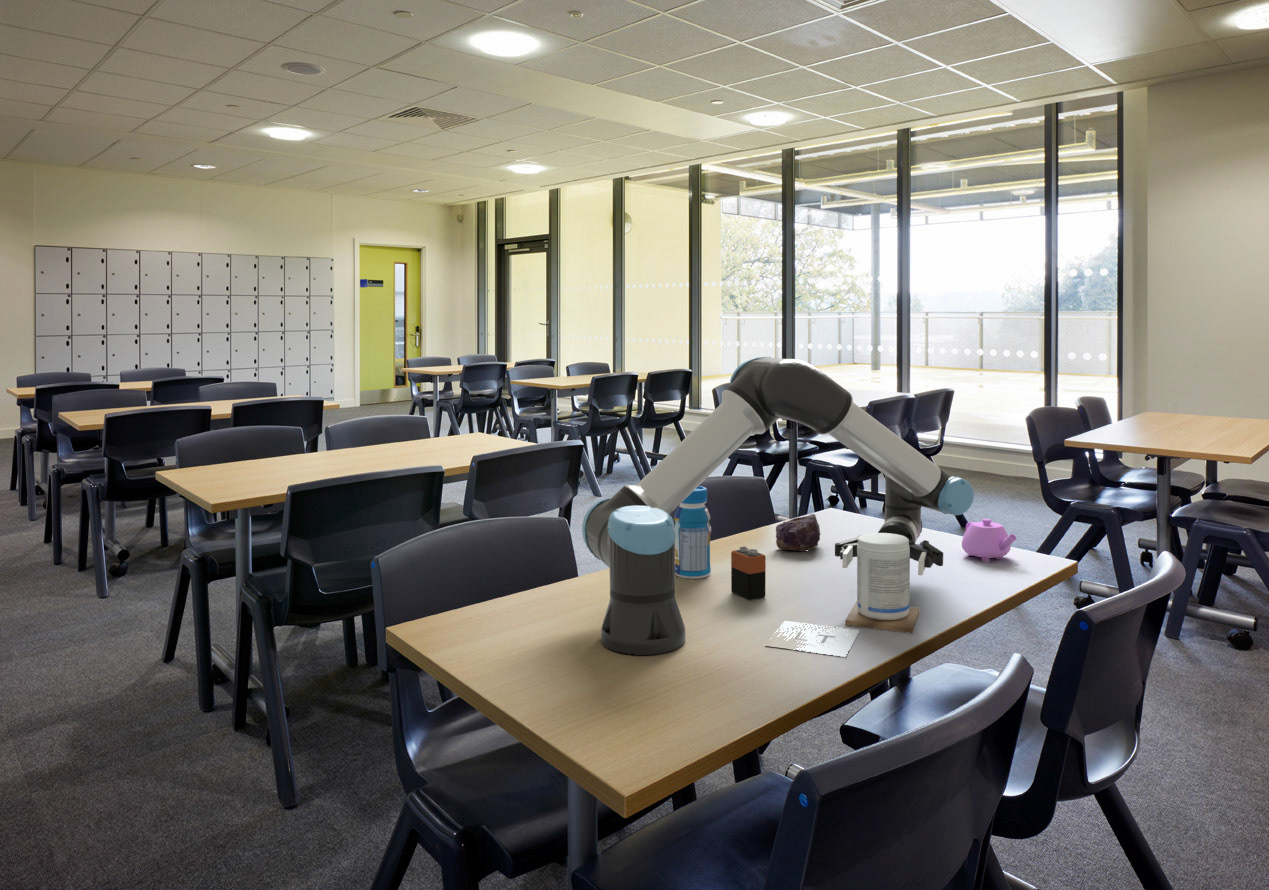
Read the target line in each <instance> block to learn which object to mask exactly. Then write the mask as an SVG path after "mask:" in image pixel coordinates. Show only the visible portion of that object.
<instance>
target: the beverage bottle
mask: <svg viewBox="0 0 1269 890" xmlns="http://www.w3.org/2000/svg"><path fill="white" fill-rule="evenodd" d="M707 489H708V488H707V487H704V486H703V485H702V486H700V485H699V486H698V487H697V488H696V489H695V490H694V491H693V492H692V493H691V494H690V495H689V496H688V497H687V498H686V499H685V500H684V501H683V502H681V503H680V504H679V505H678V506H677V508H676V510H675V512H674V516H673V521H675V522H674V530H675V534H676V537H675V576H677V577H679V578H682V579H686V580H699V579H700V580H701V579H705V578H708V577H709V576H710V575H711V573H712V572H711V570H712V568H711V567H712V566H711V533H712V526H711V524H710V521H711V514H710V511H709V510H708V508H707V507H706V505H705V504H707V501H708V490H707Z"/></svg>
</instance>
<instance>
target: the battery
mask: <svg viewBox="0 0 1269 890" xmlns="http://www.w3.org/2000/svg"><path fill="white" fill-rule="evenodd" d="M730 556H731V557H730V559H731V560H730V561H731V563H730V565H731V566H730V567H731V568H730V569H731V572H730V574H731V577H730V581H731V582H730V583H731V585H730V588H731V591H730V592H731V593H732V594H734V595H736V594H737V595H736V596H739V597H741V598H744V599H746V600H747V601H753V600H757V599H758V600H759V599H763V598H765V597H766V576H767V575H766V574H767V573H766V568H767V565H766V560H767V559H766V554H763V553H760V552H759V551H758V549H755V548H748V547H747V546H739V549H735V550H732V551H731V555H730Z"/></svg>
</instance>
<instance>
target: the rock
mask: <svg viewBox="0 0 1269 890" xmlns="http://www.w3.org/2000/svg"><path fill="white" fill-rule="evenodd" d="M816 516H817V515H816V514H815V513H812V514H810V515H804V516H801V517H794V518H792V519H790V520H788V521H783V522H782V523H779V524H777V525H776V526H775V538H776V540H775V543H776V546H777V548H778V550H779V549H780V550H781V549H782V550H781V551H783V550H793V551H800V552H801V551H804V552H806V551H805V550H809V551H810V550H813V549H814V548H815V547H818V545H819V542H820V540H821V539H820V538H821V529H820V525H819V522H818V520H817V517H816Z"/></svg>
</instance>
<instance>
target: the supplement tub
mask: <svg viewBox="0 0 1269 890" xmlns="http://www.w3.org/2000/svg"><path fill="white" fill-rule="evenodd" d="M860 535H861V536H859V535H858V536H859V537H858V536H857V537H858V544H857V557H856V565H857V567H856V589H857V591H856V592H857V594H856V595H857V597H856V598H857V600H856V601H857V609H858V611H859V613H861V614H862V615H863V616H865V617H868V618H872V619H878V620H897V619H901V618H904V617H906V616H907V615H908V613H909V607H910V601H911V600H910V596H911V595H910V593H911V592H910V591H911V590H910V589H911V587H910V585H911V583H910V581H911V580H910V579H911V578H910V577H911V576H910V575H911V574H910V572H911V567H910V566H911V565H910V564H911V563H910V561H911V558H910V549H909V539H908V538H907V537H905V536H902V535H898V534H891V533H878V532H873V533H864V534H860Z"/></svg>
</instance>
